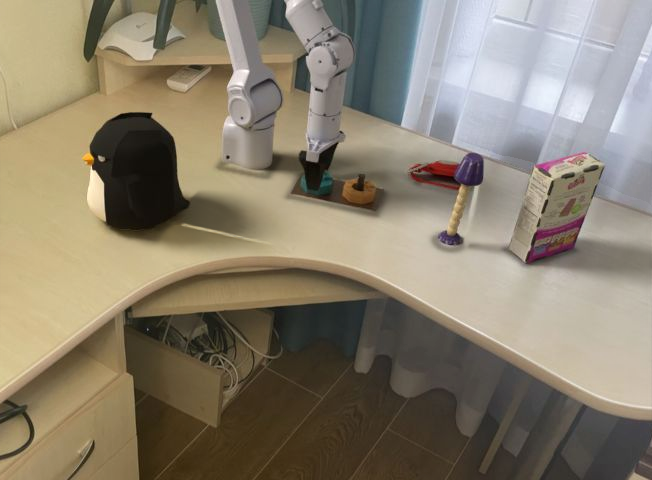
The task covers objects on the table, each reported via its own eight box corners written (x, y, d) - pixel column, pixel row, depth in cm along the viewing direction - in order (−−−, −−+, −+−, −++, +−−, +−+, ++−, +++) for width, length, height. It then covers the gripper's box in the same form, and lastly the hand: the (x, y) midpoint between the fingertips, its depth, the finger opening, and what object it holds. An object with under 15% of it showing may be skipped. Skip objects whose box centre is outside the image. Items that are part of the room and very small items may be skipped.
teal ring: (298, 191, 137) (298, 182, 136) (306, 176, 141) (306, 168, 140) (328, 197, 136) (329, 188, 135) (335, 182, 140) (336, 173, 139)
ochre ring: (340, 200, 136) (341, 191, 135) (347, 184, 140) (348, 176, 139) (370, 206, 135) (372, 197, 134) (376, 190, 139) (378, 182, 138)
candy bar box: (553, 234, 133) (585, 150, 121) (573, 249, 129) (608, 164, 118) (505, 249, 129) (533, 163, 117) (524, 265, 125) (555, 178, 114)
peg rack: (290, 197, 137) (292, 172, 134) (301, 176, 143) (303, 152, 140) (375, 214, 134) (379, 190, 131) (383, 192, 140) (387, 169, 137)
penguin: (81, 193, 135) (68, 102, 123) (177, 180, 140) (173, 91, 128) (99, 250, 123) (87, 155, 111) (204, 233, 127) (203, 140, 116)
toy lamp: (465, 239, 130) (490, 152, 119) (462, 253, 127) (487, 166, 115) (438, 233, 131) (460, 146, 120) (434, 247, 128) (456, 159, 116)
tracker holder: (443, 156, 149) (485, 166, 142) (439, 178, 151) (480, 189, 144) (403, 159, 142) (445, 169, 135) (400, 182, 143) (441, 194, 137)
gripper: (338, 131, 123) (329, 203, 132) (357, 96, 133) (347, 164, 142) (297, 124, 124) (291, 195, 133) (318, 89, 134) (312, 157, 143)
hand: (318, 178), depth 138 cm, fingers open, 7 cm apart
